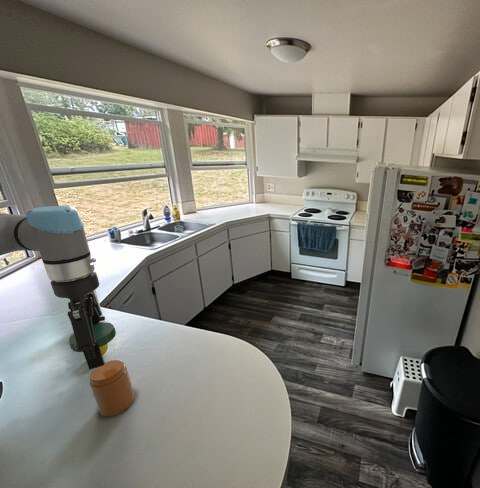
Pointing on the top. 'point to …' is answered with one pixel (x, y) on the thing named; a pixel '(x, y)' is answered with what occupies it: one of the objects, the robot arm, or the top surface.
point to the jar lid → (97, 335)
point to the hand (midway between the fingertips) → (99, 354)
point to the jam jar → (111, 387)
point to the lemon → (104, 349)
